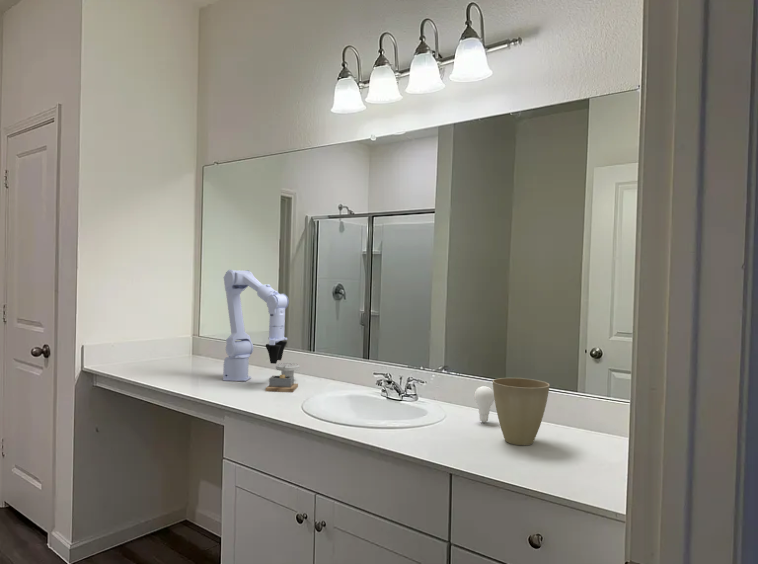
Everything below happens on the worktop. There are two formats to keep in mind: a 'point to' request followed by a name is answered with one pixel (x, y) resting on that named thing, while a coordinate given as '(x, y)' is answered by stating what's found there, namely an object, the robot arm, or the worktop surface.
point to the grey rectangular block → (281, 381)
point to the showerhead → (287, 368)
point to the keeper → (282, 389)
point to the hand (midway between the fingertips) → (275, 361)
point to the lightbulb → (484, 401)
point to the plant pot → (520, 408)
